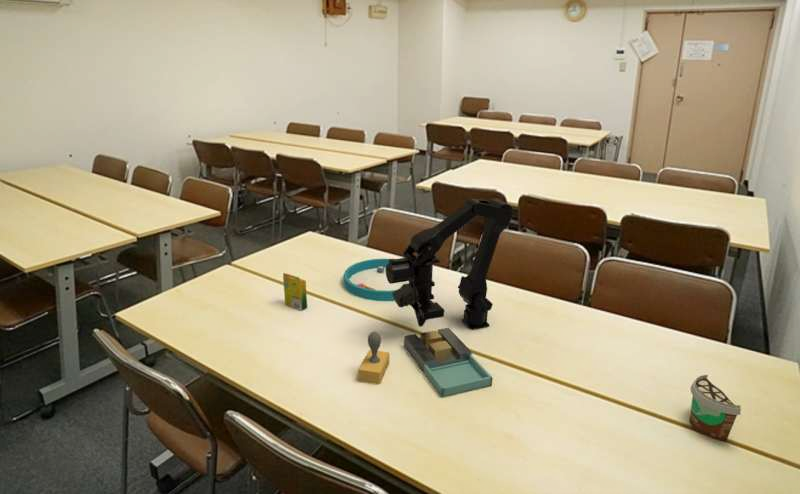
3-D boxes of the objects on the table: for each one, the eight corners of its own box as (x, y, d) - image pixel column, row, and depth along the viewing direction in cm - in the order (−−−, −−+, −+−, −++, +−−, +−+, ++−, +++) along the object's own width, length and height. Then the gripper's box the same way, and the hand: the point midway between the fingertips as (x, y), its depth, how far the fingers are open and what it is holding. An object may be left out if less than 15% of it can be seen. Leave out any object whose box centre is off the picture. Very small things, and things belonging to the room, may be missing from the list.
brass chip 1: (435, 336, 152) (436, 330, 151) (441, 343, 149) (442, 337, 148) (419, 339, 150) (420, 333, 150) (425, 346, 147) (425, 340, 146)
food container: (672, 409, 126) (680, 374, 122) (696, 408, 126) (706, 373, 123) (704, 446, 114) (714, 408, 111) (731, 444, 115) (742, 406, 111)
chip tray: (470, 363, 143) (471, 355, 142) (491, 385, 134) (492, 377, 133) (423, 373, 138) (424, 365, 137) (442, 397, 129) (442, 389, 128)
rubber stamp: (380, 384, 133) (380, 343, 129) (358, 381, 134) (357, 340, 130) (389, 363, 142) (390, 324, 138) (369, 360, 144) (368, 321, 139)
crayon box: (307, 307, 172) (306, 275, 168) (301, 311, 169) (299, 278, 165) (291, 302, 175) (288, 269, 171) (284, 305, 173) (282, 272, 169)
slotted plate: (447, 338, 155) (448, 327, 154) (470, 363, 143) (471, 351, 142) (403, 346, 150) (404, 335, 149) (423, 373, 138) (424, 361, 137)
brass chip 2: (445, 346, 147) (445, 340, 146) (451, 354, 143) (451, 347, 143) (428, 350, 145) (428, 343, 144) (434, 357, 142) (435, 351, 141)
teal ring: (443, 284, 192) (444, 269, 190) (385, 311, 171) (385, 294, 169) (385, 261, 211) (385, 247, 209) (327, 283, 191) (326, 268, 189)
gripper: (384, 269, 155) (384, 316, 161) (408, 295, 139) (407, 346, 145) (419, 264, 159) (417, 310, 165) (446, 289, 143) (443, 339, 149)
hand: (420, 326), depth 156 cm, fingers closed
